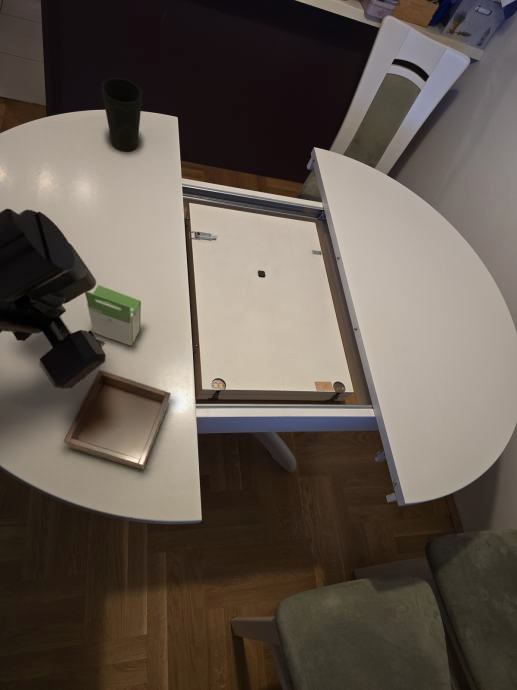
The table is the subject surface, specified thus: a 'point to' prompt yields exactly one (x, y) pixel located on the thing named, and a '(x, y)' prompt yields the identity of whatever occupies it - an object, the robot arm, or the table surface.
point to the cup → (122, 112)
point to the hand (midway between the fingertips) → (83, 318)
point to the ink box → (114, 314)
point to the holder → (118, 420)
